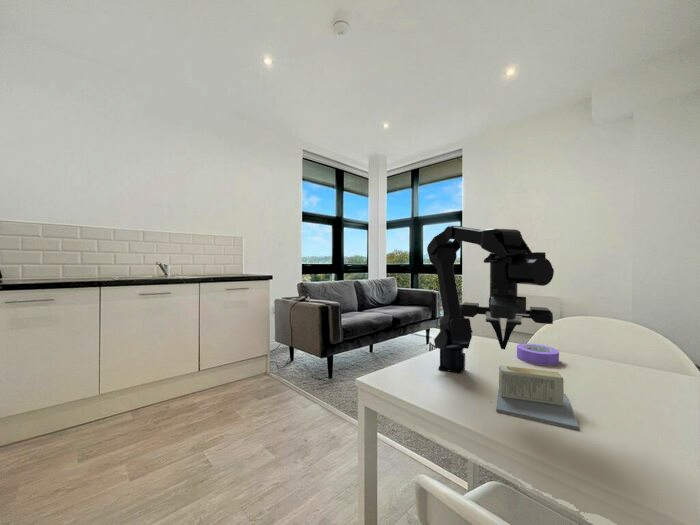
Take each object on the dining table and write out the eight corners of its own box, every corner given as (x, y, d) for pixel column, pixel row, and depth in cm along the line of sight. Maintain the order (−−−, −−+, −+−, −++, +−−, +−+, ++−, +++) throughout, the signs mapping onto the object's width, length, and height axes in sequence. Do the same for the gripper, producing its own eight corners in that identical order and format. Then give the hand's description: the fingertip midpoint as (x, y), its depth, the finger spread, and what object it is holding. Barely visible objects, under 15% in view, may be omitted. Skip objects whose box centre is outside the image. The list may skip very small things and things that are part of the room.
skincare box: (498, 389, 71) (557, 399, 67) (500, 397, 67) (563, 408, 63) (499, 363, 71) (558, 371, 67) (501, 369, 67) (564, 378, 63)
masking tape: (568, 364, 92) (568, 352, 92) (538, 367, 89) (538, 355, 89) (535, 353, 104) (535, 342, 104) (508, 355, 101) (508, 344, 101)
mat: (496, 411, 62) (496, 408, 62) (499, 384, 76) (499, 382, 76) (579, 430, 55) (578, 426, 55) (565, 396, 69) (565, 394, 69)
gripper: (456, 283, 66) (455, 352, 66) (556, 286, 57) (556, 366, 57) (462, 280, 76) (462, 340, 76) (549, 283, 67) (549, 351, 67)
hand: (503, 348), depth 69 cm, fingers closed
